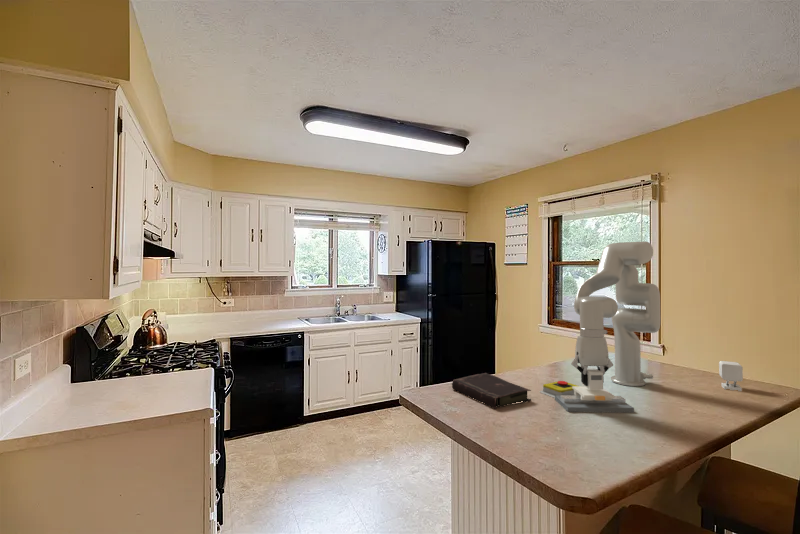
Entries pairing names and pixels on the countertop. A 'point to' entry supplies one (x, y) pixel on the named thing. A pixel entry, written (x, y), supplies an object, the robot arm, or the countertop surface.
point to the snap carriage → (592, 394)
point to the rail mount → (593, 404)
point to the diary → (490, 390)
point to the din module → (594, 379)
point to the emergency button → (558, 389)
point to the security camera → (731, 374)
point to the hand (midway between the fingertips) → (592, 384)
